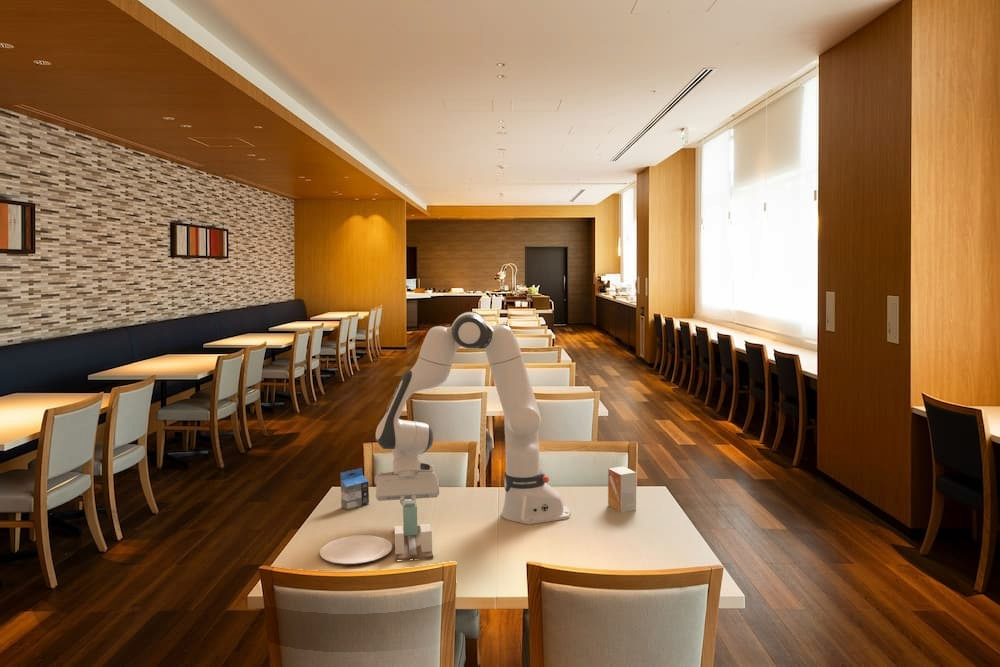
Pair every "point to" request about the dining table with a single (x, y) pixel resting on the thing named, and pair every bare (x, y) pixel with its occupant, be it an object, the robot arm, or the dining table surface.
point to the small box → (622, 489)
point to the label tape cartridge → (354, 489)
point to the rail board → (413, 548)
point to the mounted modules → (424, 538)
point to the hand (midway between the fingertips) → (408, 510)
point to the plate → (356, 549)
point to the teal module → (410, 518)
